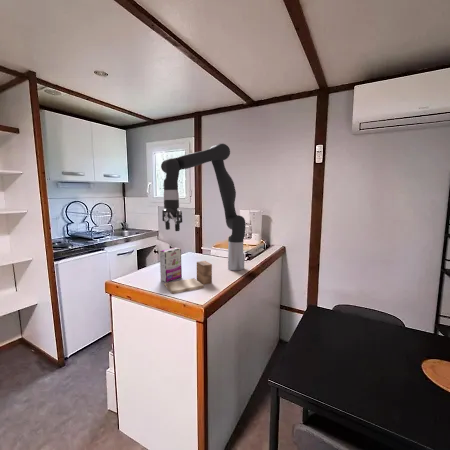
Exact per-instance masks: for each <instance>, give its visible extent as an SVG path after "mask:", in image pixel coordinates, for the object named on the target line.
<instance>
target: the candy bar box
mask: <svg viewBox="0 0 450 450" xmlns="http://www.w3.org/2000/svg"><path fill="white" fill-rule="evenodd" d="M159 264H160V265H159V267H160V269H159V270H160V271H159V272H160V281H161V282H163V283H169V282H173V281H176V280H177V279H181V278H182V276H183V275H182V274H183V273H182V248H179V247H176V246H175V247H172V248H171V247H170V248H167V249H166V248H165V249H161V250H159Z"/></svg>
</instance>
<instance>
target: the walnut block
mask: <svg viewBox="0 0 450 450" xmlns="http://www.w3.org/2000/svg"><path fill="white" fill-rule="evenodd" d="M196 280H197V281H199V282H200V283H201V284H203V285H209V284H212V283H213V265H212V263H210V262H208V261H207V260H201V261H196Z"/></svg>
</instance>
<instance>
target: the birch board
mask: <svg viewBox="0 0 450 450" xmlns="http://www.w3.org/2000/svg"><path fill="white" fill-rule="evenodd" d="M204 285H205V284H204ZM204 285H203V284H201V283H200V282H199V281H197V278H195V277H194V278H187V279H181V280H174V281H169V282H164V287H166V288H167V290H168V291H169V292H170V293H171V294H178V293H182V292H188V291H193V290H194V291H195V290H198V289H203V288H205V286H204Z"/></svg>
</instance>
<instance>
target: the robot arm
mask: <svg viewBox="0 0 450 450" xmlns="http://www.w3.org/2000/svg"><path fill="white" fill-rule="evenodd" d="M230 154H231V149H230V147H229V146H228V144H226V143H218V144H214V145H212V146H211V147H210V148H209V149H205V150H201V151H200V150H199V151H195V152H191V153H187V154H183V155H180V156H177V157H174V158H172V157H171V158H167V159H165V160H163V161H162V162H161V165H160V169H161V171H162V172H163V173H165V178H164V180H163V208H164V209H163V210H162V212H161V213H162V216H161V217H162V219H161V220H162V222H164V224H165V230H167V231H168V230H171V225H170V224H171V223H170V222H171V220H172V221H174V222H173V223H174V231H175V232H180V230H181V229H180V224H181V223H183V212H182V210H178V209H180V195H179V184H178V182H179V177H180V176H179V175H180V171H182V170H187V169H190V168H194V167H198V166H200V165H204V164H205V163H210V162H211V165H212V167H213V170H214V173H215V177H216V181H217V185H218V190H219V193H220V197H221V201H222V206H223V210H224V217H225V223H226V226H227V228H228V229H230V230H231V234H230V235H229V236H228V237H227V238H228V239H227V240H228V241H227V242H228V243H227V244H228V247H227V248H228V249H227V250H228V251H227V252H228V254H227V268H228V270H230V271H234V272H235V271H242V270H244V269H245V258H246V256H245V253H244V240H245V237H246V220H245V218H244V217H243V216H242V215H237V211H236V208H235V203H236V202H235V201H236V195H237V191H236V187H235V182H234V180H233V178H232V177H231V175H230V174H229V172H228V171H227V169H226V166H225V162H224V161H226V160H227V159H228V158H229V157H230V156H231V155H230Z"/></svg>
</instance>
